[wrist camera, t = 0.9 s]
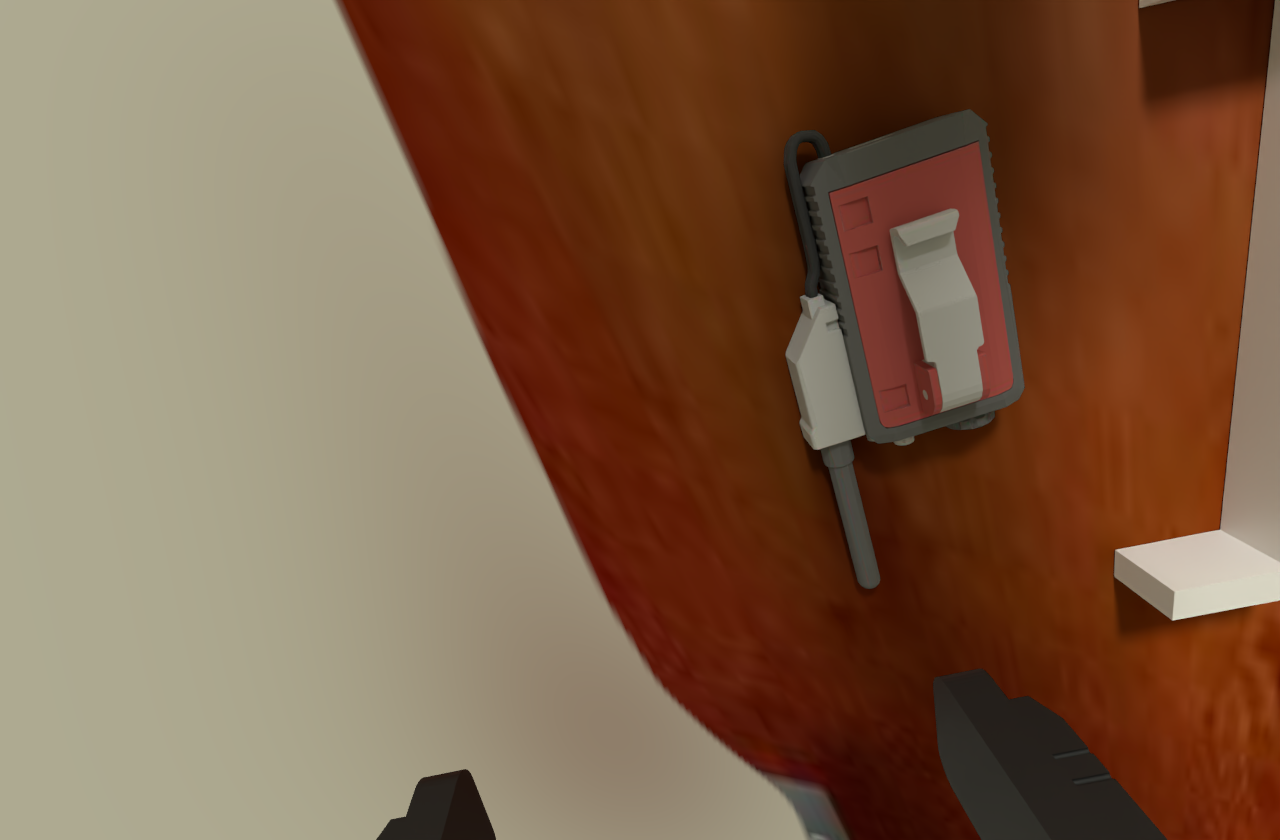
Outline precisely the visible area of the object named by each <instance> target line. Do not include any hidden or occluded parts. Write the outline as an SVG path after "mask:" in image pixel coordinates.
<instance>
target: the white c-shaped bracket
mask: <svg viewBox="0 0 1280 840" xmlns="http://www.w3.org/2000/svg"><path fill="white" fill-rule="evenodd" d="M1170 1H1174V0H1139V8H1142V7H1147V6H1151V5H1156V4H1161V3H1165V2H1170ZM1114 577H1115V578H1117V579H1118V580H1119V581H1121V582H1122V583H1123V584H1125V585H1126V586H1127V587H1129V588H1130V589H1131V590H1133V591H1134V592H1135V593H1137V594H1138V595H1139V596H1141V597H1142V598H1143V599H1144V600H1146V601H1147V602H1148V603H1150V604H1151V605H1152V606H1154V607H1155V608H1156V609H1158V610H1159V611H1160V612H1162V613H1163V614H1164V615H1166V616H1167V617H1168V618H1170V619H1171V620H1172V621H1173V620H1178V619H1184V618H1189V617H1194V616H1199V615H1205V614H1210V613H1215V612H1221V611H1226V610H1231V609H1236V608H1242V607H1247V606H1252V605H1257V604H1263V603H1268V602H1273V601H1279V600H1280V0H1275V5H1274V15H1273V25H1272V34H1271V44H1270V54H1269V63H1268V73H1267V83H1266V92H1265V102H1264V111H1263V121H1262V131H1261V140H1260V150H1259V160H1258V169H1257V179H1256V189H1255V198H1254V208H1253V217H1252V227H1251V237H1250V246H1249V256H1248V266H1247V275H1246V285H1245V295H1244V304H1243V314H1242V323H1241V333H1240V343H1239V352H1238V362H1237V372H1236V381H1235V391H1234V401H1233V410H1232V420H1231V429H1230V439H1229V449H1228V458H1227V468H1226V478H1225V487H1224V497H1223V507H1222V516H1221V526H1220V530H1216V531H1210V532H1205V533H1200V534H1195V535H1190V536H1185V537H1179V538H1174V539H1169V540H1164V541H1159V542H1154V543H1148V544H1143V545H1138V546H1133V547H1128V548H1123V549H1117V550H1115V565H1114Z"/></svg>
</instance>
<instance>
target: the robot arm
mask: <svg viewBox="0 0 1280 840" xmlns="http://www.w3.org/2000/svg"><path fill="white" fill-rule="evenodd" d="M933 690H934V702H935V714H936V726H937V739H938V749H939V754H940V758H941V761H942V765H943V768H944V770H945V773H946V776H947V778H948V780H949V783H950V785H951V787H952V789H953V791H954V792H955V794H956V796H957V798H958V799H959V801H960V803H961V805H962V806H963V808H964V810H965V812H966V813H967V815H968V817H969V819H970V820H971V822H972V824H973V826H974V827H975V829H976V831H977V833H978V834H979V836H980V838H981V840H1167V839H1166V838H1165V836H1164V835H1163V834H1162V833H1161V832H1160V831H1159V829H1158V828H1157V827H1156V826H1155V825H1154V824H1153V822H1152V821H1151V820H1150V819H1149V818H1148V817H1147V815H1146V814H1145V813H1144V812H1143V811H1142V810H1141V809H1140V807H1139V806H1138V805H1137V804H1136V803H1135V802H1134V800H1133V799H1132V798H1131V797H1130V796H1129V795H1128V793H1127V792H1126V791H1125V790H1124V789H1123V788H1122V786H1121V785H1120V784H1119V783H1118V782H1117V781H1116V780H1115V779H1112V778H1111V776H1110V774H1109V771H1108V770H1107V769H1106V768H1105V767H1104V766H1103V764H1102V763H1101V762H1100V761H1099V760H1098V759H1097V757H1096V756H1095V755H1094V754H1091V753H1090V752H1089V750H1088V747H1087V746H1086V745H1085V744H1084V742H1083V741H1082V740H1081V739H1080V738H1079V737H1078V735H1077V734H1076V733H1075V732H1074V731H1073V730H1072V728H1071V727H1070V726H1069V725H1068V724H1067V723H1066V722H1065V720H1064V719H1063V718H1062V717H1060V716H1059V715H1057V714H1055V713H1054V712H1052V711H1051V710H1049V709H1048V708H1046V707H1045V706H1043V705H1041V704H1040V703H1038V702H1037V701H1035V700H1034V699H1032V698H1031V697H1029V696H1025V697H1020V698H1015V699H1010V700H1009V699H1008V698H1007V697H1006V696H1005V694H1004V693H1003V692H1002V690H1001V689H1000V688H999V687H998V685H997V684H996V683H995V682H994V680H993V679H992V678H991V676H990V675H989V674H988V673H987V672H986V671H984V670H983V669H975V670H970V671H965V672H960V673H955V674H950V675H945V676H940V677H935V679H934V682H933ZM376 840H496V837H495V833H494V831H493V828H492V825H491V823H490V820H489V818H488V815H487V813H486V810H485V808H484V805H483V803H482V800H481V797H480V795H479V792H478V790H477V787H476V785H475V782H474V780H473V777H472V775H471V773H470V772H469V771H468V770H466V769H465V770H459V771H454V772H450V773H444V774H440V775H434V776H430V777H424V778H422V779H421V780H420V781H419V782H418V784H417V786H416V788H415V791H414V794H413V797H412V800H411V803H410V806H409V809H408V812H407V815H406V817H401V818H396V819H391V820H390V822H389V823H388V824H387V826H386V827H385V828H384V830H383V831H382V833H381V834H380V835H379V837H378V838H377V839H376Z"/></svg>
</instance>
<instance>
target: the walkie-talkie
mask: <svg viewBox="0 0 1280 840" xmlns="http://www.w3.org/2000/svg"><path fill="white" fill-rule="evenodd" d="M987 125H988V123H986V122H985V121H984V120H983V119H981V118H980V117H979V116H978V115H976V114H975V113H974V112H973V111H972V110H970V109H967V110H963V111H959V112H955V113H951V114H948V115H944V116H940V117H936V118H933V119H930V120H927V121H924V122H922V123H919V124H916V125H913V126H910V127H907V128H905V129H902V130H899V131H896V132H893V133H890V134H887V135H885V136H882V137H879V138H876V139H873V140H870V141H867V142H865V143H862V144H859V145H856V146H853V147H850V148H848V149H845V150H842V151H839V152H836V153H833V154H831V151H830V148H829V145H828V142H827V141H826V140H825V138H824V137H823V135H822V134H820V133H819V132H817V131H816V130H808V131H800V132H797V133H796V134H794V135H793V136H791V137H790V139H789V140H788V142H787V143H786V146H785V149H784V168H785V172H786V176H787V180H788V184H789V188H790V192H791V197H792V201H793V205H794V209H795V213H796V217H797V221H798V226H799V230H800V234H801V238H802V242H803V246H804V251H805V256H806V261H807V268H808V274H807V278H806V282H805V295H803V296H800V301H801V305H802V309H803V311H802V314H801V316H800V319H799V321H798V324H797V326H796V329H795V331H794V333H793V336H792V338H791V341H790V343H789V346H788V348H787V351H786V359H787V363H788V367H789V371H790V375H791V378H792V382H793V386H794V390H795V394H796V398H797V402H798V405H799V409H800V413H801V419H800V426H801V430H802V433H803V436H804V438H805V439H806V440H807V442H808V443H809V444H810V445H811V447H812V448H813V449H814V450H819V449H821V454H822V458H823V462H824V464H825V465H826V466H827V467H828V468H829V472H830V476H831V480H832V484H833V487H834V491H835V495H836V499H837V503H838V507H839V511H840V514H841V518H842V522H843V526H844V530H845V534H846V538H847V541H848V545H849V549H850V553H851V557H852V561H853V565H854V568H855V572H856V576H857V580H858V583H859V584H860V585H861V586H862V587H864V588H867V589H871V588H874V587H876V586H877V585H878V584H879V582H880V575H879V570H878V566H877V562H876V558H875V554H874V550H873V546H872V542H871V538H870V534H869V530H868V526H867V521H866V517H865V513H864V509H863V505H862V501H861V497H860V493H859V489H858V485H857V481H856V477H855V473H854V468H853V464H852V461H853V460H854V453H853V449H852V445H851V439H854V438H857V437H860V436H863V435H865V434H866V436H867V440H869V441H875V442H876V443H878V444H881V443H888V442H894V443H895V444H896V445H902V446H903V445H908V444H911V443H912V442H913V441H914V436H916V435H919V434H922V433H925V432H928V431H932V430H935V429H938V428H941V427H944V426H946V427H947V428H950V429H954V430H967V429H975V428H979V427H982V426H984V425H986V424H988V423H989V422H990V421H992V419H993V418H994V417H995V410H998V409H1001V408H1004V407H1007V406H1009V405H1010V404H1012V403H1013V402H1015V401H1017V400H1018V399H1019V398H1020V396H1021V394H1022V392H1023V390H1024V388H1025V386H1024V379H1023V372H1022V365H1021V358H1020V350H1019V343H1018V336H1017V329H1016V322H1015V315H1014V308H1013V301H1012V294H1011V287H1010V284H1009V283H1008V280H1007V275H1008V274H1009V273H1008V270H1006V266H1005V261H1006V260H1007V259H1006V256H1004V252H1003V247H1004V246H1005V245H1004V242H1002V238H1001V233H1002V232H1003V231H1002V227H1000V224H999V218H1000V217H1001V216H1000V213H998V210H997V203H998V198H996V196H995V188H996V183H994V181H993V173H994V168H992V167H991V160H990V158H991V157H992V153H991V152H989V146H988V142H989V141H990V139H989V136H987V132H986V126H987ZM802 142H810V143H812V144H813V146H814V148H815V150H816V152H817V155H818V159H816V160H813V161H810V162H808V163H805V165H804V167H803V169H802V171H801V173H800V175H799V172H798V167H797V161H796V153H797V149H798V146H799V144H800V143H802ZM818 282H820V287H821V289H820V290H819V292H820V294H819V293H818V291H817V285H818ZM821 294H822V295H821Z"/></svg>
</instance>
